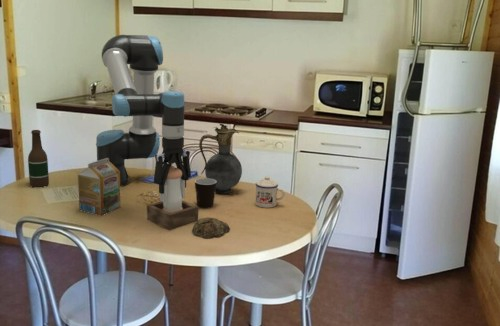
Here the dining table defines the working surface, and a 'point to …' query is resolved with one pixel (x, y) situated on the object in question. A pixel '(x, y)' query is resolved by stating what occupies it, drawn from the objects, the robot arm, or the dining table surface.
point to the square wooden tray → (172, 215)
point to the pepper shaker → (173, 191)
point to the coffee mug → (205, 192)
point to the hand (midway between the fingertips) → (172, 199)
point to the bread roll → (210, 228)
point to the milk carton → (99, 188)
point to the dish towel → (151, 180)
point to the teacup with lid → (267, 193)
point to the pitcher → (222, 161)
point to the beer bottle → (38, 162)
